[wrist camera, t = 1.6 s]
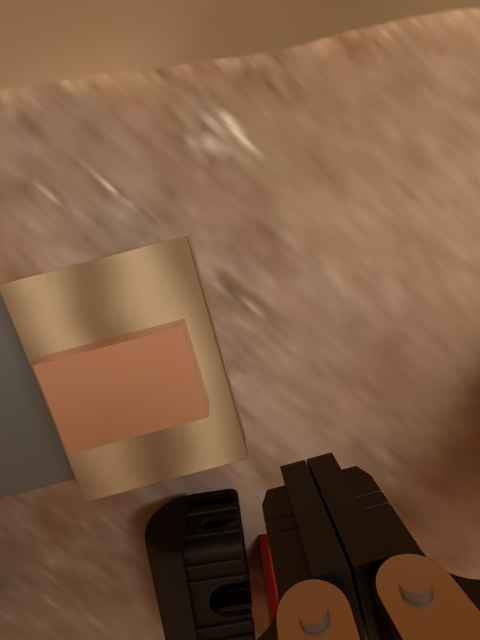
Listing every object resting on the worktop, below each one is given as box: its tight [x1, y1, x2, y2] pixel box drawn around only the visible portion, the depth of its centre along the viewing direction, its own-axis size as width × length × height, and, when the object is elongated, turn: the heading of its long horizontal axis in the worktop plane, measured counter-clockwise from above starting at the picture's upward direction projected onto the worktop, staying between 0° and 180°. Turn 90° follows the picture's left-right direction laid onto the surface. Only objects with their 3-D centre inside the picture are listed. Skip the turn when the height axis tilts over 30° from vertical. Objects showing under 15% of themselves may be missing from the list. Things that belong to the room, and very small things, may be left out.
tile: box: [33, 319, 210, 455], centre depth 23 cm, size 9×6×2 cm, turn 104°
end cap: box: [145, 489, 256, 640], centre depth 29 cm, size 10×7×7 cm
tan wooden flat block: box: [0, 236, 248, 502], centre depth 26 cm, size 12×16×4 cm
